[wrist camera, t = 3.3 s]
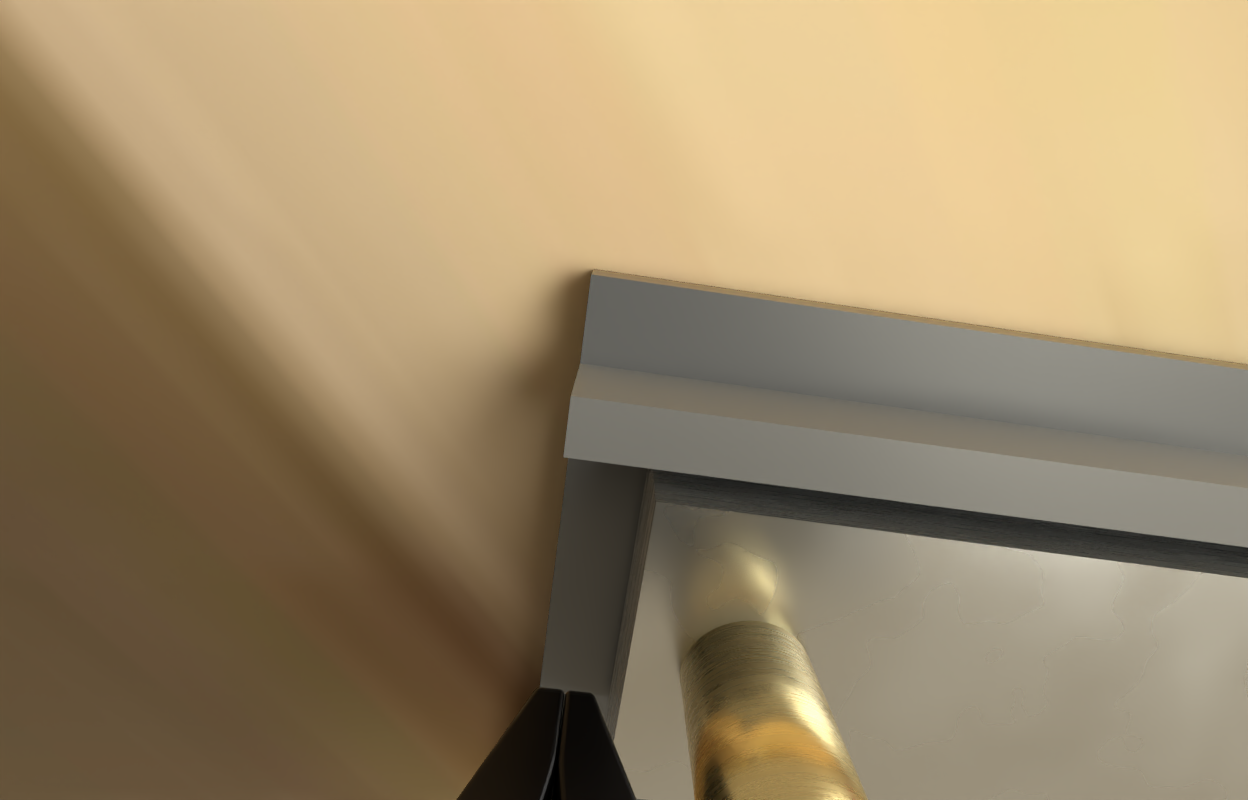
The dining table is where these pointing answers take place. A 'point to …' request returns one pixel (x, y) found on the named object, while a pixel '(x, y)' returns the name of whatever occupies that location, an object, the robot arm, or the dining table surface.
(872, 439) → the guide plate
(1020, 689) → the toothed rack
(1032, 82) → the dining table surface
